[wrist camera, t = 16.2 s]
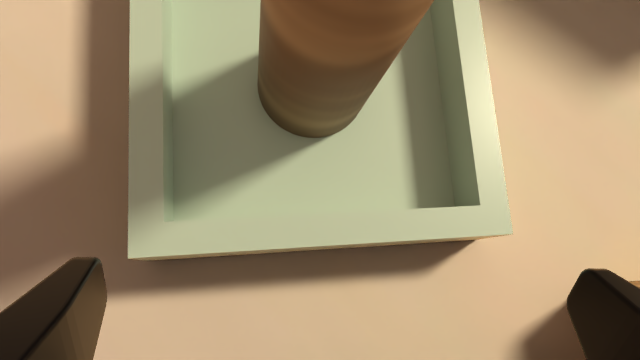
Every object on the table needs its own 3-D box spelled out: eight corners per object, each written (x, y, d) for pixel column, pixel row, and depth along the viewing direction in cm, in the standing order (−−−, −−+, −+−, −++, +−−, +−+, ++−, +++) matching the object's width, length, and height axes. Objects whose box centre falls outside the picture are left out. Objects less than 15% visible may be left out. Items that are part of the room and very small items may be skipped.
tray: (477, 239, 18) (513, 234, 15) (146, 261, 16) (127, 258, 13) (439, -42, 20) (466, -86, 18) (146, -53, 18) (130, -104, 16)
